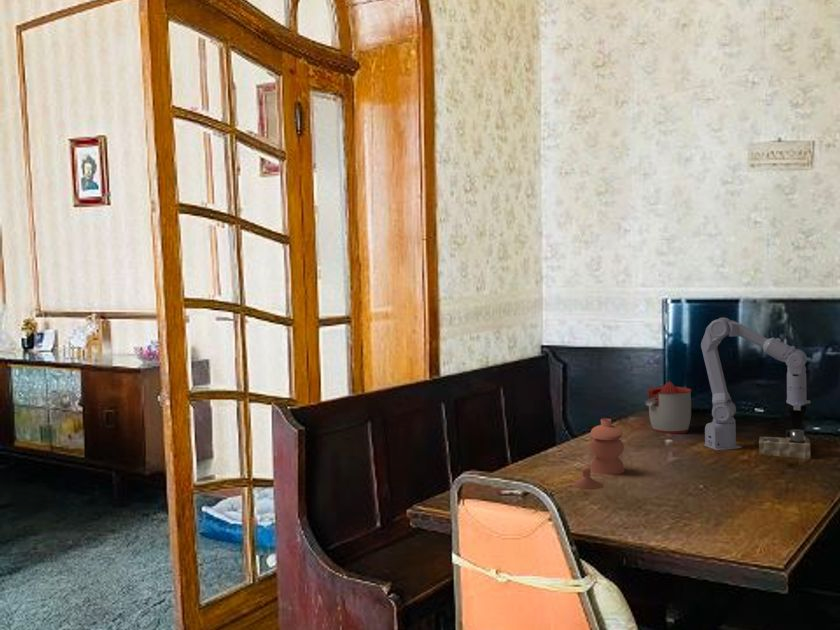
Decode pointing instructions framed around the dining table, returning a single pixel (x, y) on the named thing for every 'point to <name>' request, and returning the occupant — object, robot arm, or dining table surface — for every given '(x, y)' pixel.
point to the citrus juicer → (669, 408)
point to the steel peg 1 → (771, 440)
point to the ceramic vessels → (603, 454)
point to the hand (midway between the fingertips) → (796, 428)
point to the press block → (784, 448)
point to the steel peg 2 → (796, 436)
